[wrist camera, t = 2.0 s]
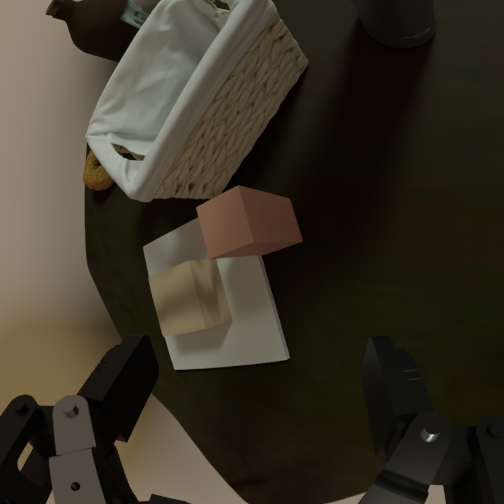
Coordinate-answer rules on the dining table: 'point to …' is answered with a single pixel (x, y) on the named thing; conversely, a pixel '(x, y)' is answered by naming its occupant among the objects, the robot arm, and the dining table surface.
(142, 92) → the storage basket
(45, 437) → the robot arm
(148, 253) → the build board
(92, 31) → the olive oil
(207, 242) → the tall salmon block
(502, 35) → the dining table surface
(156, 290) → the oak brick
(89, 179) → the bagel
